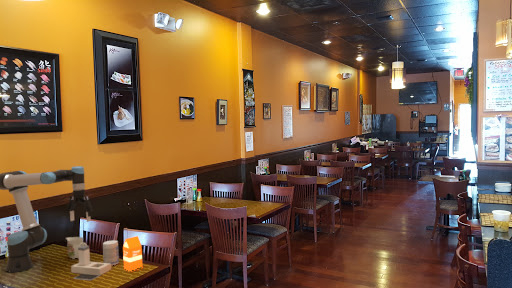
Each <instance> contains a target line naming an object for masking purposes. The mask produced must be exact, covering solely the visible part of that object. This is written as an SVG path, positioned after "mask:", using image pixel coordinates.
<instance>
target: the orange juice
mask: <svg viewBox="0 0 512 288" xmlns="http://www.w3.org/2000/svg"><path fill="white" fill-rule="evenodd" d="M142 247H143V246H142V244H141V241H140V238H139V236H138V235H136V236H132V237H128V238H125V240H124V243H123V246H122V253H123V257H122V258H123V270H125V269H126V270H125V271H127V270H128V271H127V272H129V271H131V272H133V271H132V270H134V271H136V270H135V269H137V268H140V267H142V268H143V249H142ZM137 270H138V269H137Z"/></svg>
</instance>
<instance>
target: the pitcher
mask: <svg viewBox="0 0 512 288" xmlns="http://www.w3.org/2000/svg"><path fill="white" fill-rule="evenodd" d="M65 240H67V241H66V242H67V245H66V251H67V256H68V257H69V258H70V259H71V258H72V259H71V260H76V259H75V258H78V259H79V253H78V248H79V247H81V246H88V245H87V243H86V242H84V237H81V236H73V237H72V236H70V237H69V236H68V237H65Z"/></svg>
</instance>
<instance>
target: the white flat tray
mask: <svg viewBox="0 0 512 288" xmlns="http://www.w3.org/2000/svg"><path fill="white" fill-rule="evenodd" d="M109 270H110V271H112V266H111V263H104V262H99V261H90V264H89V265H87V266H79V262H78V263H75V264H72V265H70V271H71V273H74V274H80V275H81V274H90V275H100V276H102V275H104V274H106V273H107V272H110V271H109Z"/></svg>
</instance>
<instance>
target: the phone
mask: <svg viewBox="0 0 512 288" xmlns="http://www.w3.org/2000/svg"><path fill="white" fill-rule="evenodd" d="M100 276H101V275H91V274H81V273H80V274H79V275H76V276H74V277H73V279H74V280H82V281H93V280H95V279H97V278H99V277H100Z"/></svg>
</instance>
